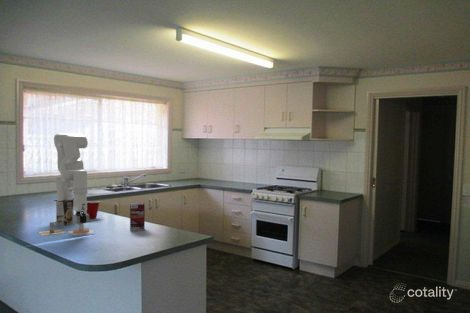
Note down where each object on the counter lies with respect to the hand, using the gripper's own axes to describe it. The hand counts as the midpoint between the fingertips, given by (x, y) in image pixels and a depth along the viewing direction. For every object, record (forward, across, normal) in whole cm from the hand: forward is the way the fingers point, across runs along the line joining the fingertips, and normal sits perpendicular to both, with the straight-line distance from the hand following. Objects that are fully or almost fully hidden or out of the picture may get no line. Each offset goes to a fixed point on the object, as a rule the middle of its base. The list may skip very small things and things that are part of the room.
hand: (81, 221), depth 215 cm
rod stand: (+7, -10, -13) cm, 18 cm away
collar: (0, 0, 0) cm, 0 cm away
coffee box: (+7, -29, 0) cm, 30 cm away
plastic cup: (+7, -42, +22) cm, 48 cm away
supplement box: (+7, +13, +29) cm, 33 cm away
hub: (+7, 0, 0) cm, 7 cm away
